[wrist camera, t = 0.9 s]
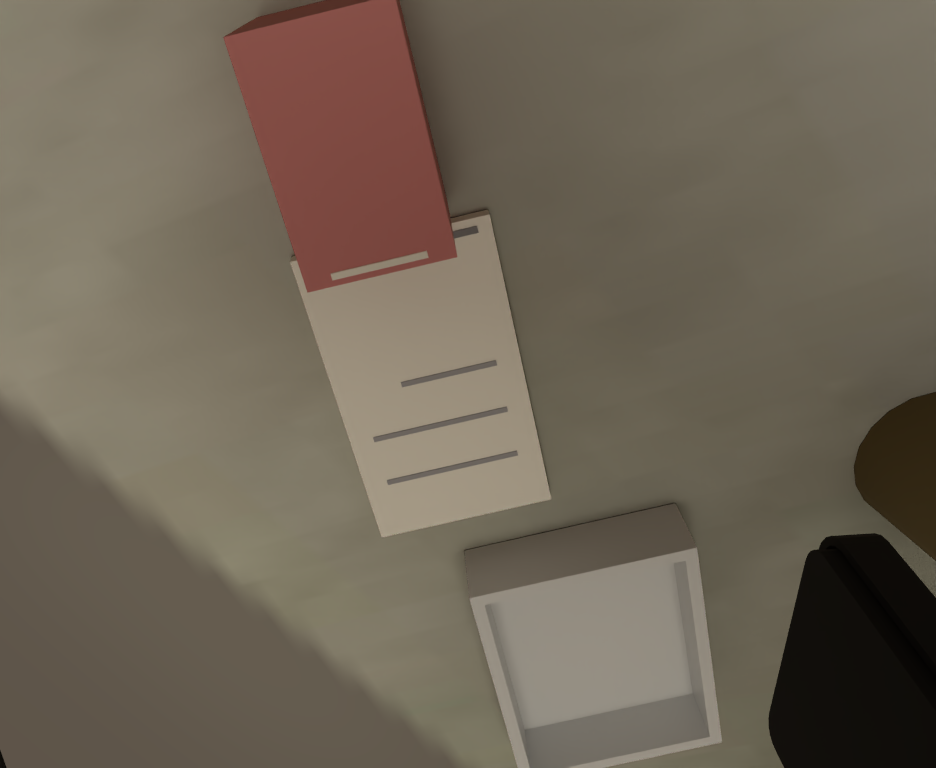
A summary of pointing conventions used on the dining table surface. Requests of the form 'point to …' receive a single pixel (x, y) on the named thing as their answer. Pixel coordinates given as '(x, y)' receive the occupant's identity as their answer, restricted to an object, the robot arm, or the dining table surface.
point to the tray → (598, 640)
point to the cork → (903, 470)
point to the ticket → (432, 386)
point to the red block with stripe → (344, 138)
